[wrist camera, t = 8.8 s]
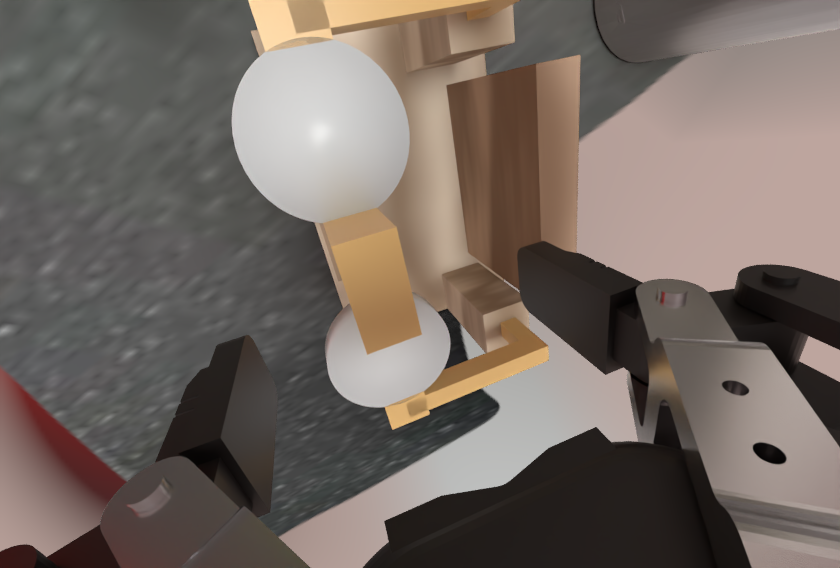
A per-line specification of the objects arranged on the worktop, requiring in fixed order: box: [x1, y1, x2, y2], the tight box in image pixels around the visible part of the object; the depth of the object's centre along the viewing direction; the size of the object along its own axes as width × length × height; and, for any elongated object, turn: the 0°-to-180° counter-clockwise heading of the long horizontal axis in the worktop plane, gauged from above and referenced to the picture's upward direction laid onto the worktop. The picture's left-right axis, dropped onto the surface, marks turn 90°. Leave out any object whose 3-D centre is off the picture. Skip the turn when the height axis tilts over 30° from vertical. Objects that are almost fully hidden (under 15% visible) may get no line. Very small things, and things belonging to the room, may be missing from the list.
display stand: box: [251, 4, 580, 353], centre depth 20 cm, size 12×19×10 cm, turn 11°
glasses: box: [232, 0, 549, 430], centre depth 15 cm, size 11×18×6 cm, turn 12°
